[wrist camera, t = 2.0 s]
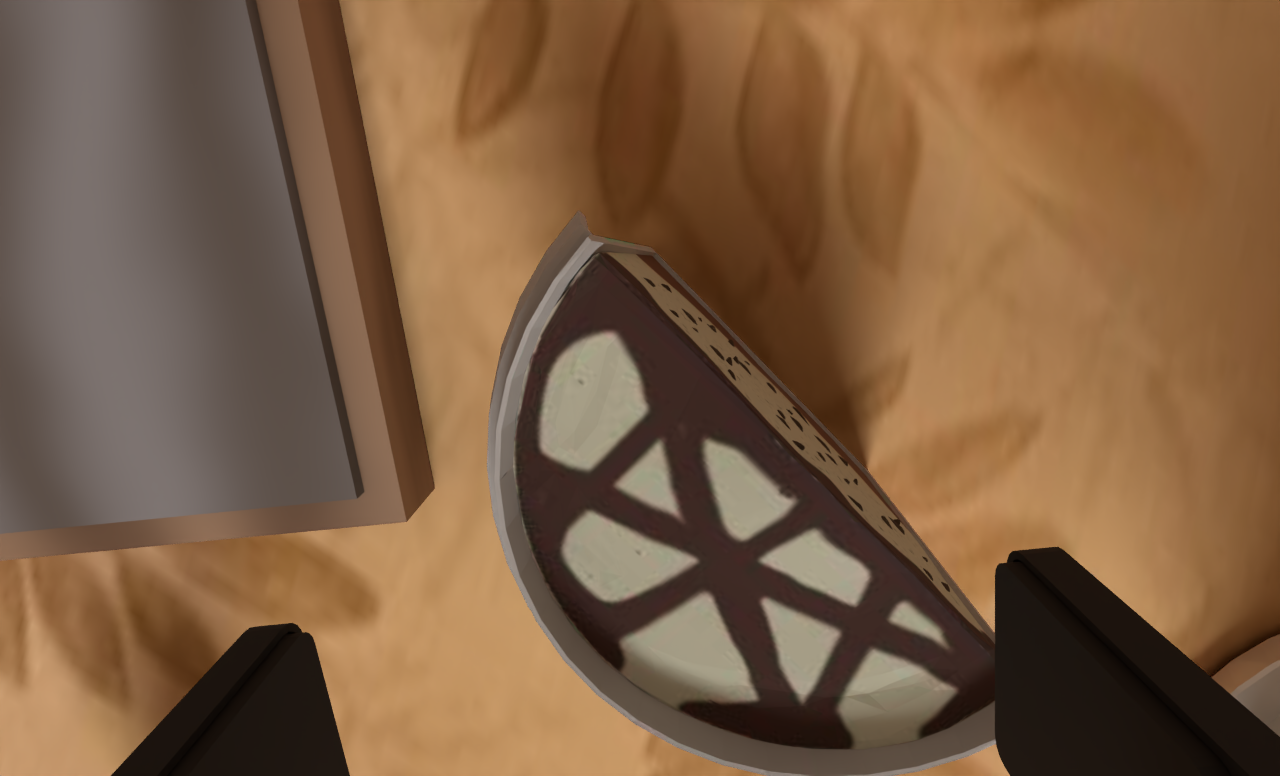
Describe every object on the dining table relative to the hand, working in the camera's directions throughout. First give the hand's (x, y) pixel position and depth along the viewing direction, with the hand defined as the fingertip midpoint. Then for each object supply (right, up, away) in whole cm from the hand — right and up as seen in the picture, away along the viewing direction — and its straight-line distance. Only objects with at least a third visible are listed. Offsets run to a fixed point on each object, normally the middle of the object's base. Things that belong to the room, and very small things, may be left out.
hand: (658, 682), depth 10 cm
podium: (-17, +9, +11) cm, 22 cm away
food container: (+1, +3, +12) cm, 13 cm away
